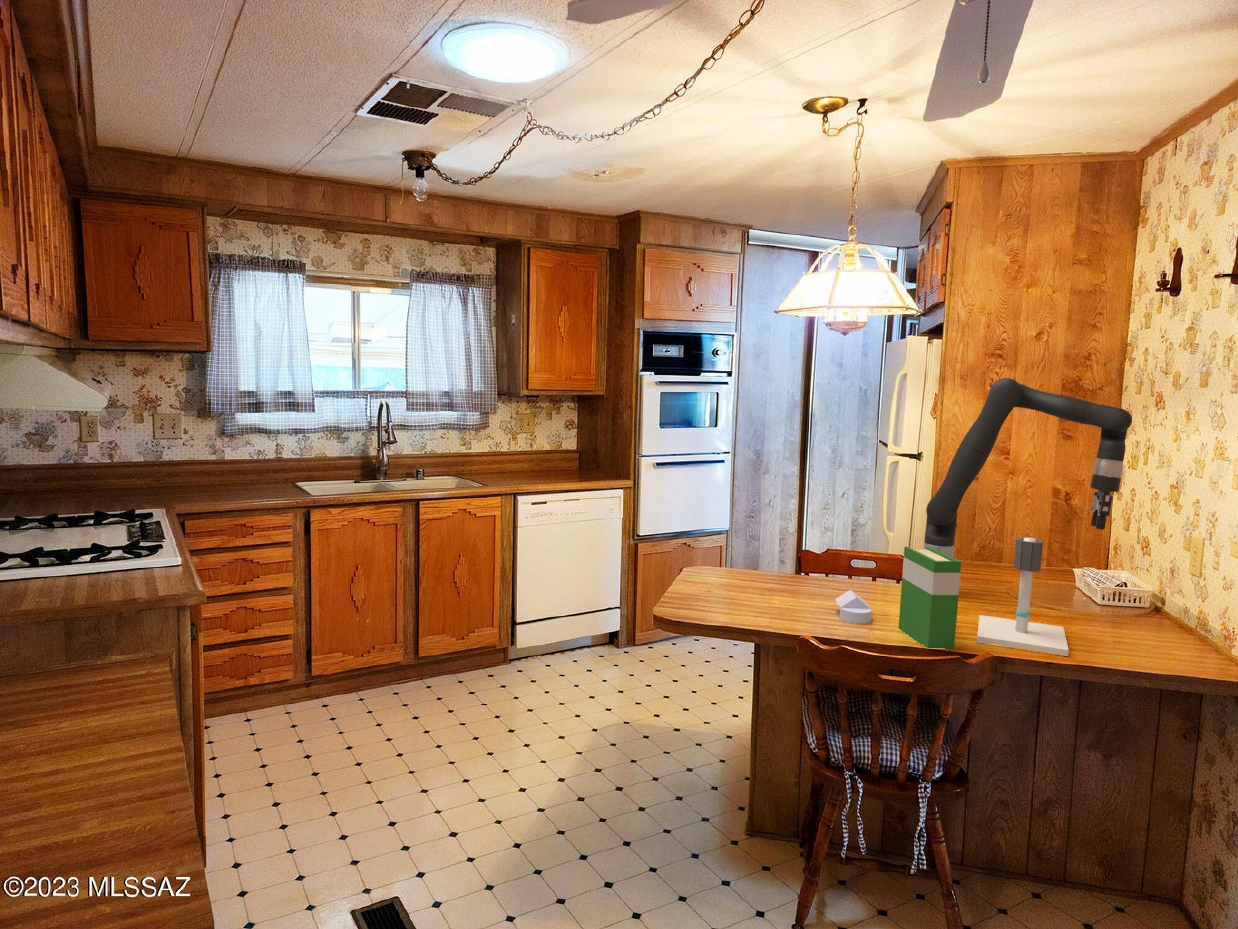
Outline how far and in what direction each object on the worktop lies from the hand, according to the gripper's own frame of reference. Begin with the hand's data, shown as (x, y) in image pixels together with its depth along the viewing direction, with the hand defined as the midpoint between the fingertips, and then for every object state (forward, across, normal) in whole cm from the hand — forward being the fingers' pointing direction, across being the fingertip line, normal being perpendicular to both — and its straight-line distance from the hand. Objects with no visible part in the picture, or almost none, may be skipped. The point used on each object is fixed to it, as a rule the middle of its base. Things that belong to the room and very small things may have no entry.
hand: (1097, 527), depth 246 cm
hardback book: (+35, +42, -43) cm, 70 cm away
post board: (+32, +29, -19) cm, 47 cm away
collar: (+12, +31, -20) cm, 39 cm away
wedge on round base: (+36, +30, -64) cm, 79 cm away
